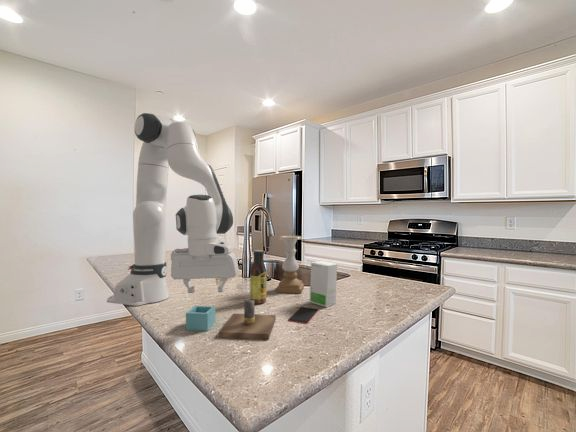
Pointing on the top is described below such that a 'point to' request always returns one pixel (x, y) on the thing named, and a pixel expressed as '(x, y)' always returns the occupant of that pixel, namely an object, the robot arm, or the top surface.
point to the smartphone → (303, 315)
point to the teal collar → (200, 318)
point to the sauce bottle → (258, 278)
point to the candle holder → (290, 268)
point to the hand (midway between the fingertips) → (206, 292)
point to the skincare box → (323, 283)
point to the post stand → (248, 324)
